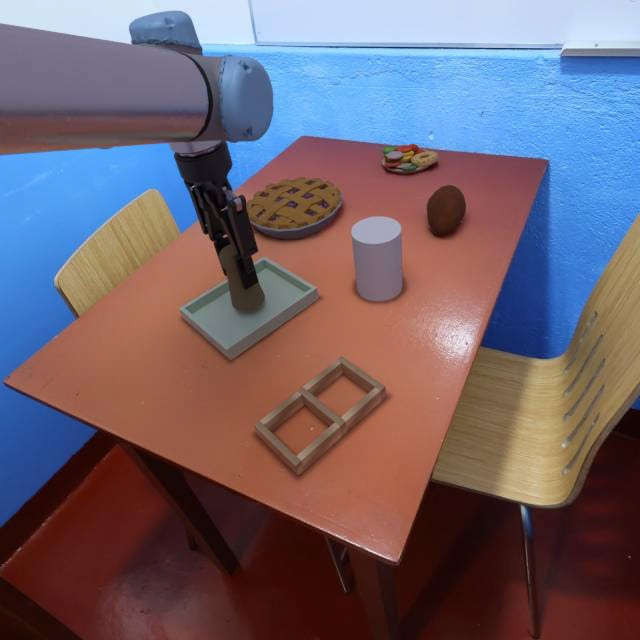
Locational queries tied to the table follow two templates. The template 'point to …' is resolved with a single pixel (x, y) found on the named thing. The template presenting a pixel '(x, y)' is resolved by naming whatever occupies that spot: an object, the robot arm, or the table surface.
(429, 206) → the potato
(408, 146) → the toy food set
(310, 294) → the tray
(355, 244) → the cup
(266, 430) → the two-slot wooden frame
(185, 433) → the table surface
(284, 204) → the pie
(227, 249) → the brown pawn
